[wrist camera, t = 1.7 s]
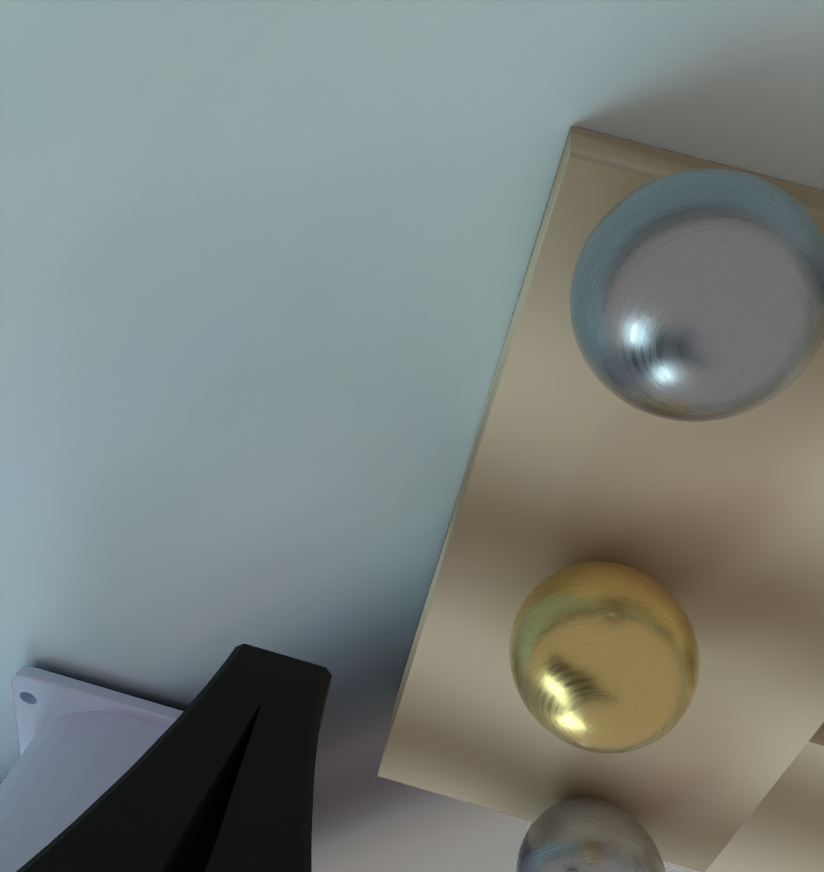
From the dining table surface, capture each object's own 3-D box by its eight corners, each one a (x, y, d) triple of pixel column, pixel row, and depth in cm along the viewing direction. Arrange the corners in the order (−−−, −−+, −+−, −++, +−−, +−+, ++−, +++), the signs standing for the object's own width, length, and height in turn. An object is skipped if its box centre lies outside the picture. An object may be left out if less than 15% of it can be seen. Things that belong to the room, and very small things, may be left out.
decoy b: (740, 381, 12) (787, 497, 10) (542, 327, 12) (535, 429, 10) (843, 178, 11) (934, 252, 8) (612, 119, 11) (626, 170, 8)
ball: (649, 670, 16) (665, 816, 13) (496, 626, 16) (480, 762, 13) (715, 552, 14) (749, 693, 11) (542, 505, 14) (535, 632, 11)
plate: (942, 853, 21) (984, 955, 18) (396, 695, 21) (377, 775, 19) (1476, 360, 12) (1658, 439, 10) (570, 125, 13) (570, 156, 11)
